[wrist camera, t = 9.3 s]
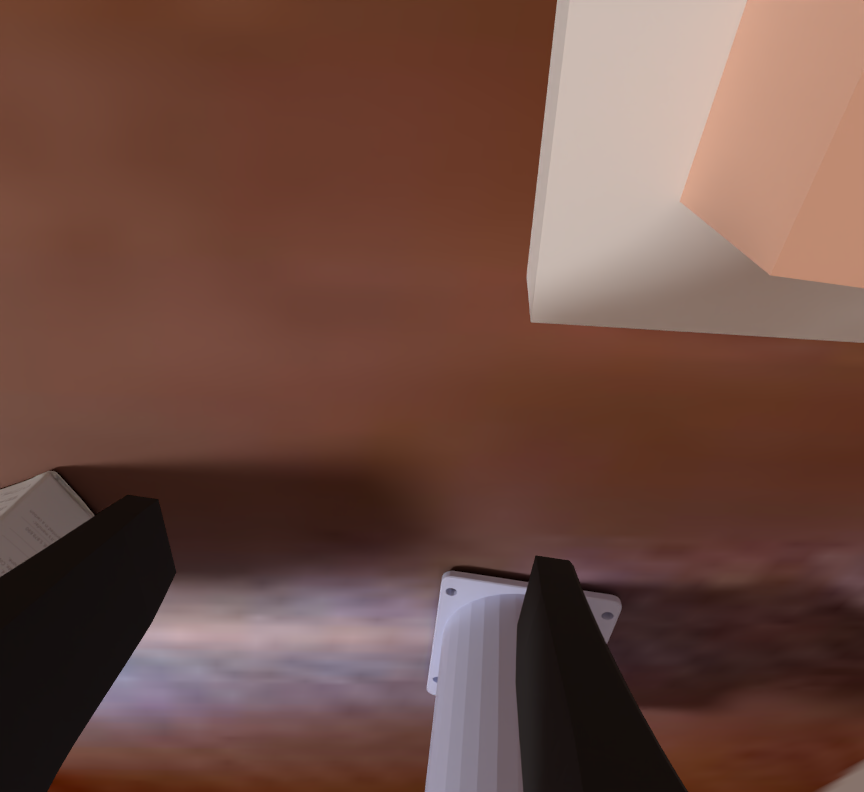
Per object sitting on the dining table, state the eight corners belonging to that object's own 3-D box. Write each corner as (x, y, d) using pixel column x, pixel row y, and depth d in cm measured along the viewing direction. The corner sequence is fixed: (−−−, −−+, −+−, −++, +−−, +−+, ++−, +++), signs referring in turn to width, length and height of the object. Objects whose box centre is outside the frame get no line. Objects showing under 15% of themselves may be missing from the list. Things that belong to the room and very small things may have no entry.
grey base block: (855, 289, 17) (943, 347, 13) (526, 272, 18) (530, 322, 14) (1057, -165, 11) (1290, -261, 8) (573, -156, 12) (598, -239, 9)
